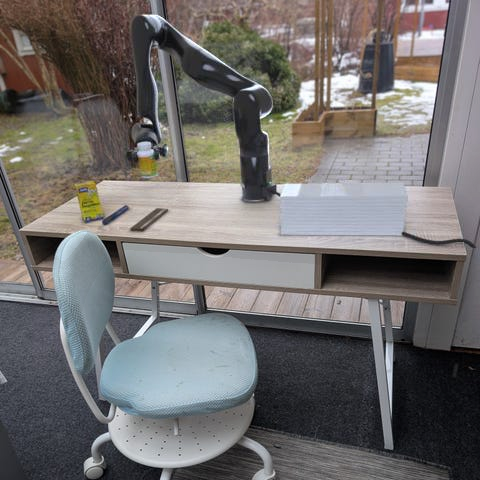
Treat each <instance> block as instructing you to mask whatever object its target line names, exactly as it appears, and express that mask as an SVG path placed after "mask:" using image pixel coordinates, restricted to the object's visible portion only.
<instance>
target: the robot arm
mask: <svg viewBox="0 0 480 480" xmlns="http://www.w3.org/2000/svg"><path fill="white" fill-rule="evenodd" d="M129 30H130V31H129V34H130V43H131V51H132V59H133V65H134V72H135V80H136V112H137V113H136V114H137V115H138V116H139V117H142V118H144V119H146V120H149V121H150V122H151V123H146V122H136V123H134V124H133V126H132V128H131V139H132V141H133V142H134V145H133V146H134V147H132V149H130V148H128V147H124V148H123V152H124V157H125V159H126V160H127V161H129V162H131V161H132V162H134V163H135V164H138V159H137V152H138V151H139V149H138V146H137V144H138V143H141V142H150V143H151V149H152V150H154V152H155V159H156V162H157V161H159V159H161V157H162V158H166V157H167V156H168V154H169V152H170V151H169V144H168V143H163V144H162V145H161V146H160V144H161V143H162V141H163V132H162V128H161V124H160V120H159V90H158V86H157V82H156V80H155V77H154V75H153V71H152V68H151V67H152V66H151V61H150V58H151V49H158V50H161V51H163V52H165V53H166V54H168V55H169V56H171V57H172V58H174V60H175V61H176V62H177V64H178V66H179V68H180V70H181V71H182V73H183V74H184V75H185V76H186V77H188V79H191V80H192V81H193V82H195V83H196V84H197V85H199V86H200V87H203V88H204V89H207V90H210V91H213V92H216V93H219V94H222V95H225V96H227V97H230V98H231V99H233V101H232V114H233V115H232V116H233V123H234V131H235V135H236V139H237V141H238V151H239V167H240V180H241V182H240V187H241V195H242V196H241V199H242V201H245V202H247V203H263V202H268V201H269V200H270V199H271V198H272V196H277V197H279V198H280V195H281V192H278V191H277V183H273V179H272V178H273V176H272V174H273V173H272V166H270V146H269V134H268V133H267V132H265V131H263V130H262V123H261V119H263V118H265V117H266V116H267V115H269V114H270V113H271V111H272V109H273V104H274V103H273V98H272V96H271V94H270V92H269V91H268V90H267V88H265V87H264V86H263V85H261V84H259V83H257V82H255V81H253V80H251V79H249V78H247V77H245V76H243V75H242V74H240V73H239V72H237V71H236V70H235V69H234V68H232V67H230V66H229V65H227V64H226V63H224V62H223V61H221V60H220V59H219V58H217V57H216V56H215V55H213V54H212V53H211V52H209V51H208V50H207V49H204V48H203V47H202V46H200V45H198V44H197V43H195V42H194V41H192V40H191V39H189V38H188V37H187V36H185V35H183V34H182V33H181V32H179V31H178V30H177V29H176V28H175V27H174V26H173V25H171V24H170V23H169V22H168V21H167V20H166V19H165V18H163V17H161V16H160V15H157V14H154V13H153V14H145V13H144V14H137V15H135V16H134V17H133V18H132V19H131V22H130V27H129ZM401 234H402V235H403V237H407V238H410V239H412V240H415V241H417V242H421V243H426V244H430V245H447V244H448V245H449V244H454V243H455V244H456V243H461V244H466V245H468V246H469V247H470V248H472V249H476V248H477V246H476V245H475V244H474V243H473V242H472V241H470V240H469V239H465V238H453V239H445V240H432V239H428V238H425V237H424V238H423V237H420V236H418V235H417V236H416V235H414V234H411V233H409V232H406V231H403V232H402V233H401ZM463 242H464V243H463ZM458 367H459V363H455V364H454V367H453V371H452V377H453V378H456V377H457V373H458Z"/></svg>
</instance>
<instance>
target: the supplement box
mask: <svg viewBox="0 0 480 480" xmlns="http://www.w3.org/2000/svg"><path fill="white" fill-rule="evenodd" d="M73 186H74V190H75V194H76V197H77V201H78V205H79V210H80V214H81V217H82V219H83V221H84V222H85V223H89V222H94V221H98V220H104V219H105V217H104V214H103V213H104V212H103V209H102V204H101V200H100V196H99V192H98V187H97V184H96V183H95V182H94V180H89V181H83V182H79V183H74V184H73Z"/></svg>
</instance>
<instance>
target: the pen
mask: <svg viewBox="0 0 480 480" xmlns="http://www.w3.org/2000/svg"><path fill="white" fill-rule="evenodd" d="M129 209H130V206H129V205H128V204H125V205H123V206H122V207H120V208H119V209H118V210H116V211H114V212H113V213H111V214H110V215H108V216H106V217H104V219H102V221H101V223H102V225H103V226H107V225H108V224H110V223H111V222H113V221H114V220H115V219H117V218H118V217H120V216H121V215H122V214H124V213H125V212H127V211H128V210H129Z"/></svg>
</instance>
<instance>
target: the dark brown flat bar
mask: <svg viewBox="0 0 480 480" xmlns="http://www.w3.org/2000/svg"><path fill="white" fill-rule="evenodd" d="M168 212H169V209H168V208H165V207H164V208H163V207H162V208H160V207H156V208H155V209H154V210H152V211H151V212H150V213H148V214H147V215H146V216H145V217H143V218H142V219H140V220H139V221H137V222H136V223H134V224H133V225H132V226H131V227H130V231H131V232H142V233H143V232H145V230H146V229H148V228H149V227H150V226H151V225H153V224H154V223H156V221H158V220H159V219H160V218H162V217H163V216H164V215H165V214H166V213H168Z"/></svg>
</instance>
